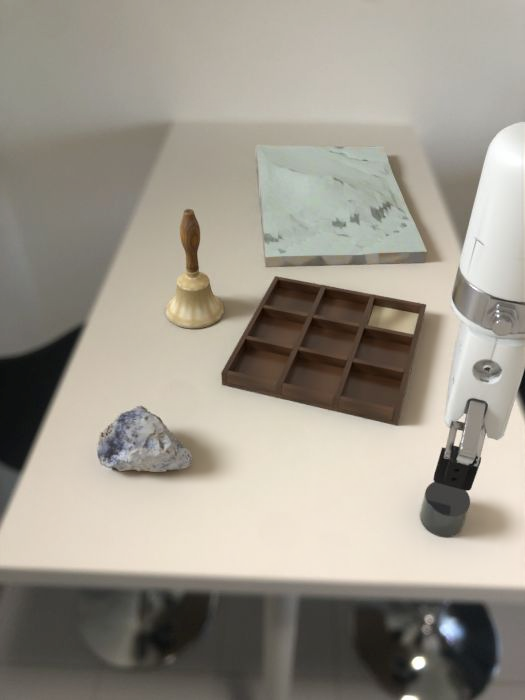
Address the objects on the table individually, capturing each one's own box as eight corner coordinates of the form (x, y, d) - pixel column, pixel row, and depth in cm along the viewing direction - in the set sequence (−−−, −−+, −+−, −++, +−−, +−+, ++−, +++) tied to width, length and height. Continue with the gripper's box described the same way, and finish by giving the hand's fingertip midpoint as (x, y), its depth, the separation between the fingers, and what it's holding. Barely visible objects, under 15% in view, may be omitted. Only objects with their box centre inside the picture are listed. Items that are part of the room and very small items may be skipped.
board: (424, 316, 95) (426, 304, 94) (397, 425, 79) (399, 413, 78) (274, 287, 100) (275, 275, 99) (221, 384, 84) (221, 372, 83)
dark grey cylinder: (465, 507, 70) (472, 485, 68) (461, 542, 67) (468, 521, 65) (422, 496, 71) (428, 475, 69) (416, 530, 68) (422, 509, 66)
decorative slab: (244, 159, 133) (244, 134, 130) (381, 156, 134) (384, 131, 131) (251, 267, 104) (251, 239, 101) (425, 262, 105) (430, 234, 102)
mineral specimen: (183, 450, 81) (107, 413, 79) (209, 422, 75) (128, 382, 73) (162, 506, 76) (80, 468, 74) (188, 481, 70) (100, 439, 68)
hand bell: (232, 299, 98) (229, 200, 88) (212, 334, 92) (205, 231, 82) (179, 289, 100) (169, 190, 89) (156, 322, 94) (143, 221, 83)
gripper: (556, 379, 44) (492, 531, 55) (557, 244, 56) (505, 391, 68) (439, 353, 46) (401, 506, 57) (465, 227, 58) (429, 373, 69)
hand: (457, 443), depth 62 cm, fingers open, 9 cm apart
